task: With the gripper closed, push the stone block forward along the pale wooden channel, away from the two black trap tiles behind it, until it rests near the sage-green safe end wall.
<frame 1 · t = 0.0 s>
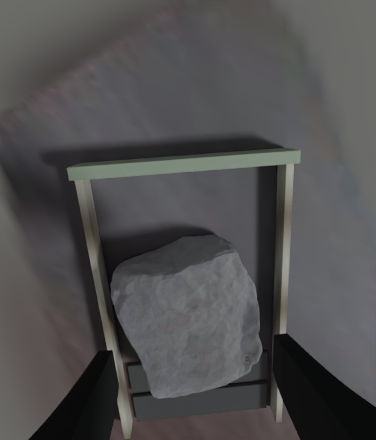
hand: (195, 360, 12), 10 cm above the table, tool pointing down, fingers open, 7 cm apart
safe end: (184, 161, 20), on the table
stone block: (194, 302, 23), on the table, touching trap tiles
channel: (194, 309, 24), on the table
trap tiles: (199, 385, 26), on the table
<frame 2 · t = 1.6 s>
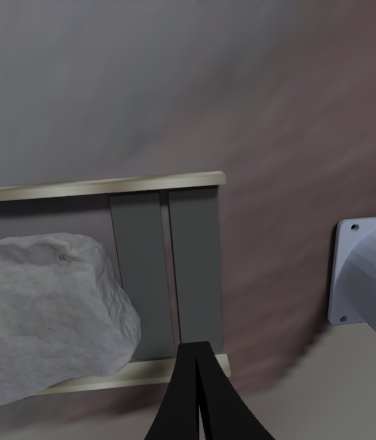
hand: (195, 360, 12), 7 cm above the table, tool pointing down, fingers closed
stone block: (40, 290, 19), on the table, touching trap tiles
channel: (50, 290, 19), on the table
trap tiles: (171, 280, 19), on the table
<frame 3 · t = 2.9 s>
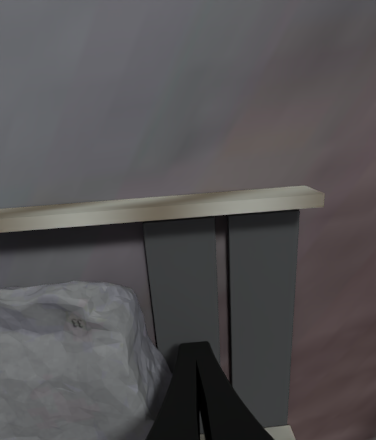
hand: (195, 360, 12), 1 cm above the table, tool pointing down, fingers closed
stone block: (42, 350, 14), on the table, touching gripper, trap tiles
channel: (55, 350, 14), on the table
trap tiles: (224, 334, 14), on the table
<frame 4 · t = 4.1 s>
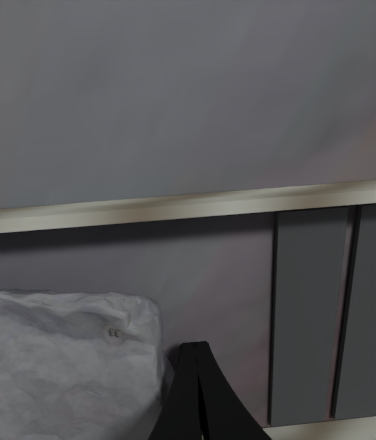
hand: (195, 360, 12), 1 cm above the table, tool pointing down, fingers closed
stone block: (57, 351, 14), on the table, touching gripper
channel: (172, 339, 14), on the table
trap tiles: (337, 324, 14), on the table
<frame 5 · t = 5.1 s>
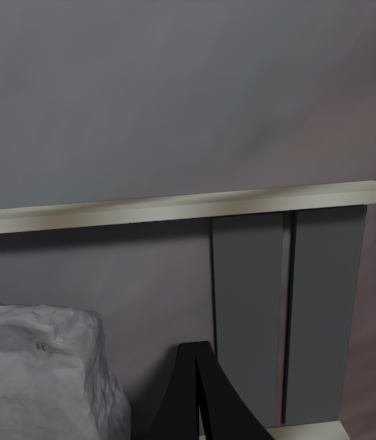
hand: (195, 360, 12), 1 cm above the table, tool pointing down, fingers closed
stone block: (2, 359, 14), on the table
channel: (114, 346, 14), on the table
trap tiles: (282, 329, 14), on the table
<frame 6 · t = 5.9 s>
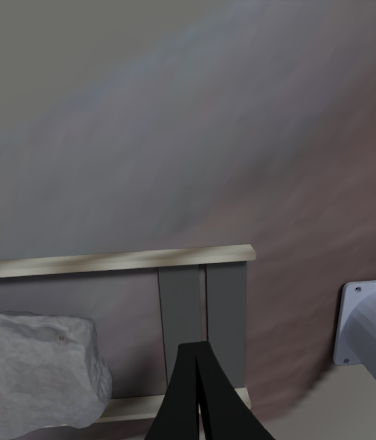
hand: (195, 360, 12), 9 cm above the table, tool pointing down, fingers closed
stone block: (33, 347, 23), on the table
channel: (102, 336, 23), on the table
trap tiles: (204, 328, 23), on the table
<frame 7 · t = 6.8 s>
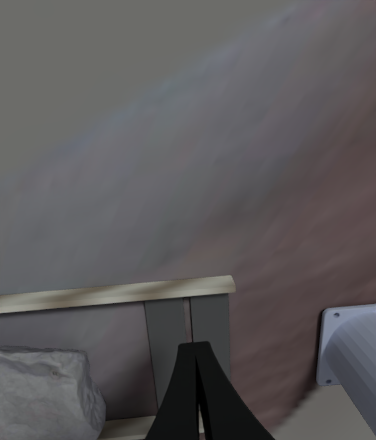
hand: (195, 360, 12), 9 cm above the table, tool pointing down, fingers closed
stone block: (30, 377, 25), on the table
channel: (93, 363, 24), on the table
trap tiles: (190, 353, 24), on the table
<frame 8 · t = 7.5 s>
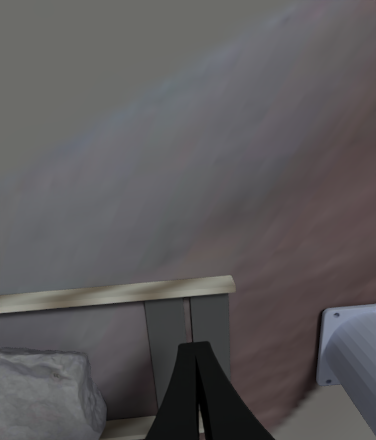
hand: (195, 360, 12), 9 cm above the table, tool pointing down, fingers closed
stone block: (31, 379, 25), on the table
channel: (93, 363, 24), on the table
trap tiles: (190, 353, 24), on the table
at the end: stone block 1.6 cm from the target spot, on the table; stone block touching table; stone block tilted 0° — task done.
